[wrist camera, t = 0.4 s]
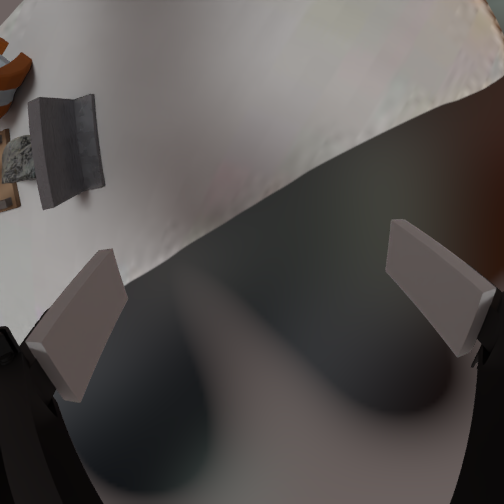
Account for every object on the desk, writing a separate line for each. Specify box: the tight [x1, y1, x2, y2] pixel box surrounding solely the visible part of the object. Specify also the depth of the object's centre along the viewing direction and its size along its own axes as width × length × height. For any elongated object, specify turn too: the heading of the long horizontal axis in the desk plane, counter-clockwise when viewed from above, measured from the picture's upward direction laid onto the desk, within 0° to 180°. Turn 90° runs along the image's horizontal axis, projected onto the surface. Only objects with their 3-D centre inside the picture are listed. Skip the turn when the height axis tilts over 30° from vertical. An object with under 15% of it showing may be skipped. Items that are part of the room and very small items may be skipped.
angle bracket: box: [28, 94, 105, 210], centre depth 30 cm, size 14×5×10 cm, turn 4°
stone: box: [2, 135, 36, 184], centre depth 31 cm, size 10×10×10 cm
